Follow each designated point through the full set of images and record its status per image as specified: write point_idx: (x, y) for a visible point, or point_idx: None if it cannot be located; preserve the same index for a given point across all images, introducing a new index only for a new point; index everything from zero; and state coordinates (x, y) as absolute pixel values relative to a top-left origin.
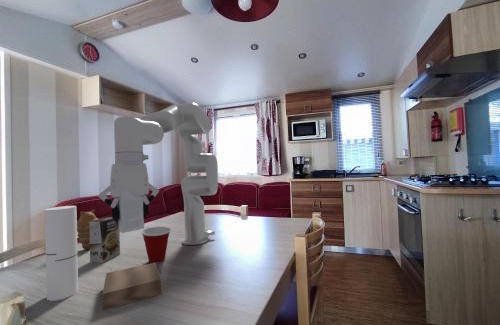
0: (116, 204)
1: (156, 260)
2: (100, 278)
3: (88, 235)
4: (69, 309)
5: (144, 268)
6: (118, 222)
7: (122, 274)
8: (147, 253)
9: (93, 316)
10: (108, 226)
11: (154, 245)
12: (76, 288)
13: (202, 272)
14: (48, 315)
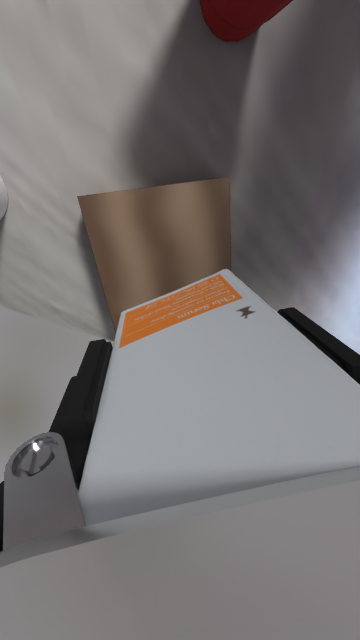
0: (79, 472)
1: (231, 39)
2: (36, 106)
3: None
4: (44, 287)
5: (194, 218)
6: (115, 337)
7: (134, 236)
8: None
9: (108, 330)
10: None
11: (252, 5)
12: (2, 197)
13: (327, 232)
14: (9, 295)
